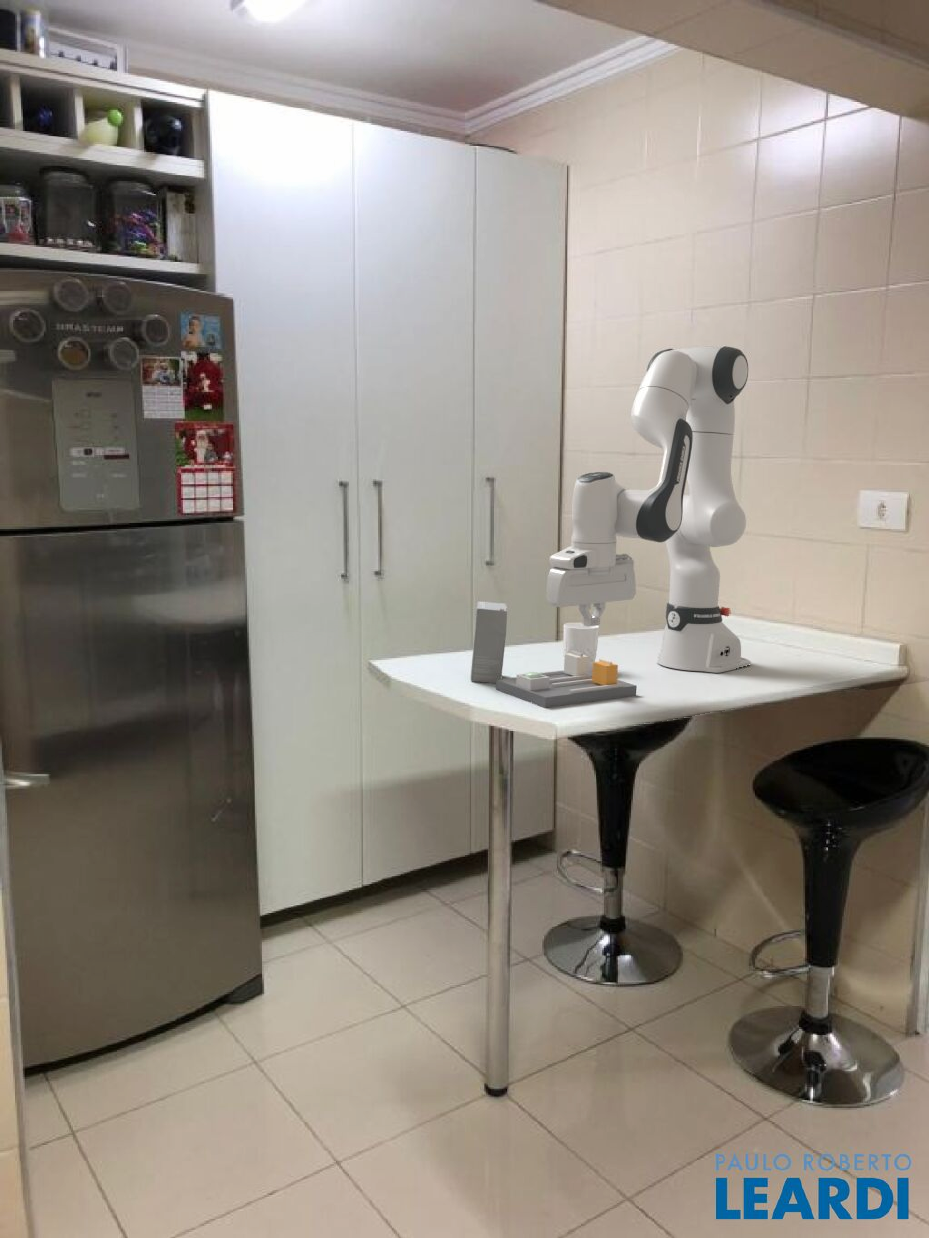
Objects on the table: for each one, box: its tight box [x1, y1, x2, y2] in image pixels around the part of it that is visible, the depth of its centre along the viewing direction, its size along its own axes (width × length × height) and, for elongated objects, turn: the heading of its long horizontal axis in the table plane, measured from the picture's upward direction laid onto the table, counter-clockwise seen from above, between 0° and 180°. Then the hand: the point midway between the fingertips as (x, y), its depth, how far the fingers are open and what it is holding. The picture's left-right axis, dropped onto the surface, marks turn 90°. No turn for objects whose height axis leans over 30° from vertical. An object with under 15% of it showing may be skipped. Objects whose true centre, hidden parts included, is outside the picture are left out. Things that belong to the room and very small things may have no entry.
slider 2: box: [592, 658, 619, 685], centre depth 199 cm, size 3×4×5 cm
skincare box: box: [470, 601, 508, 684], centre depth 209 cm, size 8×7×16 cm
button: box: [525, 671, 541, 679], centre depth 195 cm, size 3×3×2 cm
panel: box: [496, 669, 637, 709], centre depth 200 cm, size 23×16×4 cm
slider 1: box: [563, 651, 589, 676], centre depth 207 cm, size 3×4×5 cm
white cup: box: [562, 622, 600, 672], centre depth 222 cm, size 8×8×10 cm
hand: (591, 625), depth 198 cm, fingers closed
